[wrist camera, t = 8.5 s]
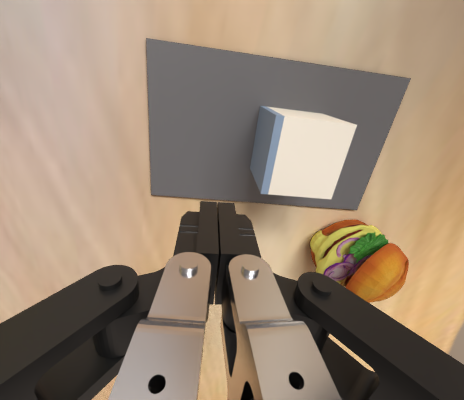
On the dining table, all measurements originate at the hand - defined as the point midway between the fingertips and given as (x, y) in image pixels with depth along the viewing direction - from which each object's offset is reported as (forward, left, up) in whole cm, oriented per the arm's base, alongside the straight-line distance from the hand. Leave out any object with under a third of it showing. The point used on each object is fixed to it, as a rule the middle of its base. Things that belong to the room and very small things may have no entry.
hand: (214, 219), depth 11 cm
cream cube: (-5, 0, -14) cm, 15 cm away
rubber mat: (-7, 0, -18) cm, 19 cm away
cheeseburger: (-21, +14, -18) cm, 31 cm away
